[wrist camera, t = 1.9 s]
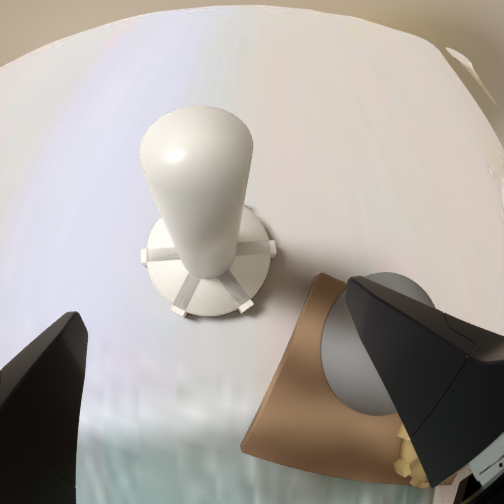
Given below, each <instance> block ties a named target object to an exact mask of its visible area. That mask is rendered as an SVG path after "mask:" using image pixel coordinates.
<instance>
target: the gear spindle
mask: <svg viewBox="0 0 504 504" xmlns="http://www.w3.org/2000/svg"><path fill="white" fill-rule="evenodd" d="M252 153H253V140H252V136H251V134H250V131H249V130H248V128H247V126H246V125H245V124H244V123H243V122H242V121H241V120H240V119H239V118H238V117H236V116H235V115H234V114H232V113H230V112H228V111H225V110H223V109H220V108H216V107H211V106H191V107H185V108H181V109H178V110H175V111H172V112H170V113H168V114H166V115H164V116H163V117H161V118H160V119H158V120H157V121H156V122H155V123H154V124H153V125H152V126H151V127H150V128H149V129H148V130H147V132H146V133H145V135H144V137H143V139H142V141H141V144H140V148H139V160H140V164H141V167H142V170H143V172H144V175H145V177H146V180H147V183H148V185H149V188H150V190H151V192H152V195H153V197H154V200H155V202H156V205H157V207H158V209H159V212H160V214H161V216H162V217H161V218H160V219H159V220H158V221H157V223H156V224H155V226H154V228H153V230H152V232H151V234H150V237H149V240H148V244H147V249H141V263H142V264H143V265H144V266H145V267H148V272H149V275H150V277H151V280H152V282H153V284H154V286H155V287H156V288H157V290H158V291H159V293H160V294H161V295H162V296H163V297H164V298H165V299H166V300H167V301H169V302H170V303H171V304H172V307H171V309H170V310H171V311H172V312H174V313H176V314H178V315H180V316H182V317H184V318H185V317H186V315H187V313H189V314H193V315H197V316H220V315H224V314H227V313H230V312H233V311H235V310H237V309H238V311H239V312H240V313H241V314H242V313H243V312H245V311H246V310H248V309H249V308H250V307H252V306H253V305H254V303H253V302H252V301H251V299H252V298H253V297H254V296H255V294H256V293H257V292H258V290H259V289H260V287H261V286H262V284H263V282H264V280H265V279H266V276H267V273H268V271H269V266H270V259H271V258H274V257H275V255H276V253H277V252H276V245H275V240H269V238H268V235H267V233H266V230H265V228H264V226H263V225H262V223H261V222H260V220H259V219H258V218H257V217H256V215H255V214H254V213H253V212H252V211H250V210H249V209H248V208H247V207H245V206H244V201H245V194H246V188H247V183H248V177H249V171H250V165H251V159H252Z"/></svg>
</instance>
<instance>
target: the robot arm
mask: <svg viewBox="0 0 504 504" xmlns="http://www.w3.org/2000/svg"><path fill="white" fill-rule="evenodd" d="M345 302H346V306H347V308H348V310H349V313H350V315H351V318H352V320H353V323H354V325H355V328H356V330H357V333H358V335H359V337H360V340H361V342H362V344H363V346H364V347H365V349H366V351H367V353H368V355H369V357H370V359H371V361H372V363H373V365H374V367H375V368H376V370H377V372H378V374H379V376H380V378H381V380H382V382H383V384H384V386H385V388H386V390H387V392H388V394H389V396H390V398H391V400H392V402H393V404H394V406H395V408H396V410H397V413H398V415H399V417H400V419H401V421H402V423H403V425H404V427H405V429H406V432H407V434H408V436H409V438H410V441H411V443H412V445H413V447H414V449H415V452H416V454H417V456H418V458H419V461H420V463H421V465H422V468H423V470H424V472H425V475H426V477H427V479H428V482H429V484H430V486H431V488H434V487H436V486H437V485H439V484H440V483H442V482H443V481H445V480H447V479H448V478H450V477H451V476H452V475H454V474H455V473H457V472H458V471H460V470H461V469H462V468H464V467H465V466H467V465H468V467H469V468H470V470H471V472H472V473H471V474H470V475H469V476H467V477H466V478H465V479H463V480H462V481H461V482H460V483H459V487H458V490H457V494H456V497H455V500H454V503H453V504H504V336H502V335H499V334H496V333H494V332H491V331H488V330H485V329H483V328H480V327H477V326H475V325H472V324H470V323H467V322H465V321H462V320H460V319H458V318H455V317H453V316H451V315H449V314H447V313H443V312H442V311H440V310H437V309H435V308H433V307H431V306H429V305H426V304H424V303H422V302H420V301H417V300H415V299H413V298H411V297H408V296H406V295H404V294H401V293H399V292H397V291H395V290H392V289H390V288H388V287H385V286H383V285H381V284H378V283H376V282H374V281H372V280H369V279H367V278H365V277H362V276H355V277H350V278H349V280H348V283H347V289H346V295H345ZM87 343H88V332H87V329H86V327H85V325H84V323H83V320H82V318H81V316H80V314H79V313H78V312H76V311H75V312H67V313H65V314H64V315H63V316H62V317H60V318H59V319H58V320H57V321H56V322H54V323H53V324H52V325H51V326H50V327H48V328H47V329H46V330H45V331H44V332H42V333H41V334H40V335H39V336H38V337H37V338H36V339H34V340H33V341H32V342H31V343H30V344H29V345H28V346H26V347H25V348H24V349H23V350H22V351H21V352H20V353H19V354H17V355H16V356H15V357H14V358H13V359H12V360H11V361H10V362H9V363H8V364H6V365H5V366H4V367H3V368H2V370H0V504H76V488H75V486H76V452H77V437H78V426H79V416H80V407H81V399H82V392H83V385H84V379H85V369H86V355H87Z"/></svg>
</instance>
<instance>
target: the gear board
mask: <svg viewBox="0 0 504 504" xmlns="http://www.w3.org/2000/svg"><path fill="white" fill-rule="evenodd" d="M365 278H367V279H369V280H372V281H374V282H376V283H378V284H381V285H383V286H385V287H388V288H390V289H392V290H395V291H397V292H399V293H401V294H404V295H406V296H408V297H411V298H413V299H415V300H417V301H420V302H422V303H424V304H426V305H429V306H431V307H433V308H435V306H434V304H433V302H432V301H431V299H430V297H429V296H428V295H427V293H426V292H425V291H424V290H423V289H422V288H421V287H420V286H419V285H418V284H417V283H415V282H414V281H412V280H411V279H409V278H407V277H405V276H403V275H399V274H396V273H388V272H384V273H375V274H371V275H368V276H366V277H365ZM346 289H347V284H346V283H343V282H341V281H339V280H337V279H335V278H333V277H331V276H328V275H326V274H324V273H322V272H321V273H320V274H319V275H317V276H316V277H315V279H314V282H313V284H312V287H311V289H310V292H309V294H308V297H307V300H306V302H305V305H304V307H303V310H302V312H301V314H300V317H299V319H298V322H297V324H296V327H295V329H294V331H293V334H292V336H291V339H290V341H289V343H288V346H287V348H286V350H285V352H284V355H283V357H282V359H281V362H280V364H279V366H278V368H277V371H276V373H275V375H274V377H273V379H272V381H271V384H270V386H269V388H268V390H267V392H266V394H265V397H264V399H263V401H262V403H261V405H260V407H259V409H258V411H257V413H256V415H255V417H254V419H253V421H252V423H251V425H250V427H249V429H248V431H247V433H246V435H245V437H244V439H243V441H242V443H241V445H240V446H241V451H242V452H243V453H245V454H248V455H251V456H254V457H258V458H261V459H264V460H267V461H271V462H274V463H277V464H281V465H285V466H288V467H292V468H296V469H300V470H304V471H309V472H313V473H318V474H323V475H328V476H333V477H339V478H345V479H351V480H358V481H365V482H374V483H384V484H398V485H413V486H415V487H417V488H428V487H429V485H430V484H429V482H428V479H427V477H426V475H425V472H424V470H423V468H422V465H421V463H420V461H419V458H418V456H417V454H416V452H415V449H414V447H413V445H412V443H411V441H410V438H409V436H408V434H407V432H406V429H405V427H404V425H403V423H402V421H401V419H400V417H399V415H398V413H397V410H396V408H395V406H394V404H393V402H392V400H391V398H390V396H389V394H388V392H387V390H386V388H385V386H384V384H383V382H382V380H381V378H380V376H379V374H378V372H377V370H376V368H375V367H374V365H373V363H372V361H371V359H370V357H369V355H368V353H367V351H366V349H365V347H364V346H363V344H362V342H361V340H360V337H359V335H358V333H357V330H356V328H355V325H354V323H353V320H352V318H351V315H350V313H349V310H348V308H347V306H346V302H345V295H346ZM435 309H436V308H435ZM457 473H458V472H457ZM457 473H455V474H454V475H452V476H451V477H450V478H448V479H447V480H445V481H443V482H442V483H440V484H439V485H451V484H452V482H453V480H454V479H455V477H456V475H457Z"/></svg>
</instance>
